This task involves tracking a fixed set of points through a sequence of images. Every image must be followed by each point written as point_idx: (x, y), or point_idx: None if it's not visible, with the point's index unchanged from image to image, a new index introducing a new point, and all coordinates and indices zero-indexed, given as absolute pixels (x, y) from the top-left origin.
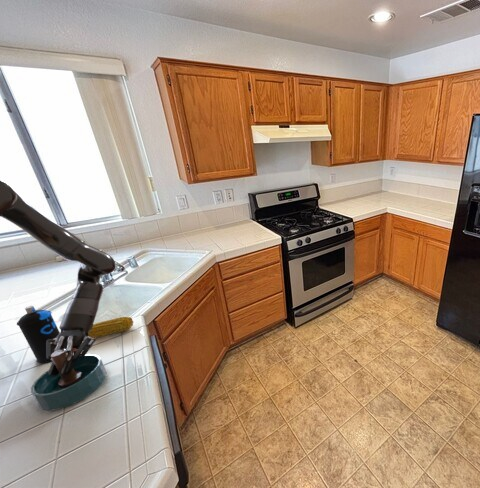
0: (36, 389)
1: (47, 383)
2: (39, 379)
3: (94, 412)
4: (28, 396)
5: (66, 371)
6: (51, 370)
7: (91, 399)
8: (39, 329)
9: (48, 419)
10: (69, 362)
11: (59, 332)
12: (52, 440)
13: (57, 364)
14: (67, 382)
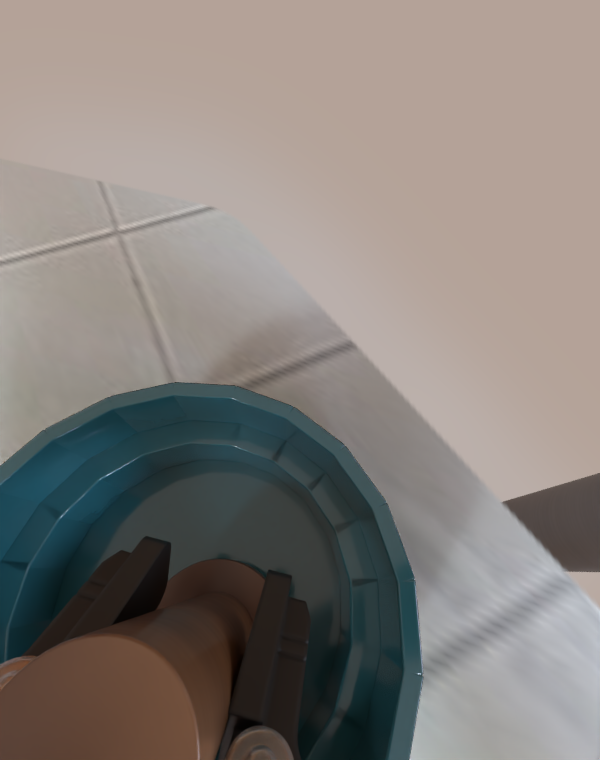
0: (367, 522)
1: (365, 624)
2: (397, 604)
3: (39, 372)
4: (485, 618)
5: (116, 555)
6: (264, 600)
7: None
8: None
9: None
10: (52, 644)
11: None
12: (164, 293)
13: (168, 613)
14: (207, 583)
